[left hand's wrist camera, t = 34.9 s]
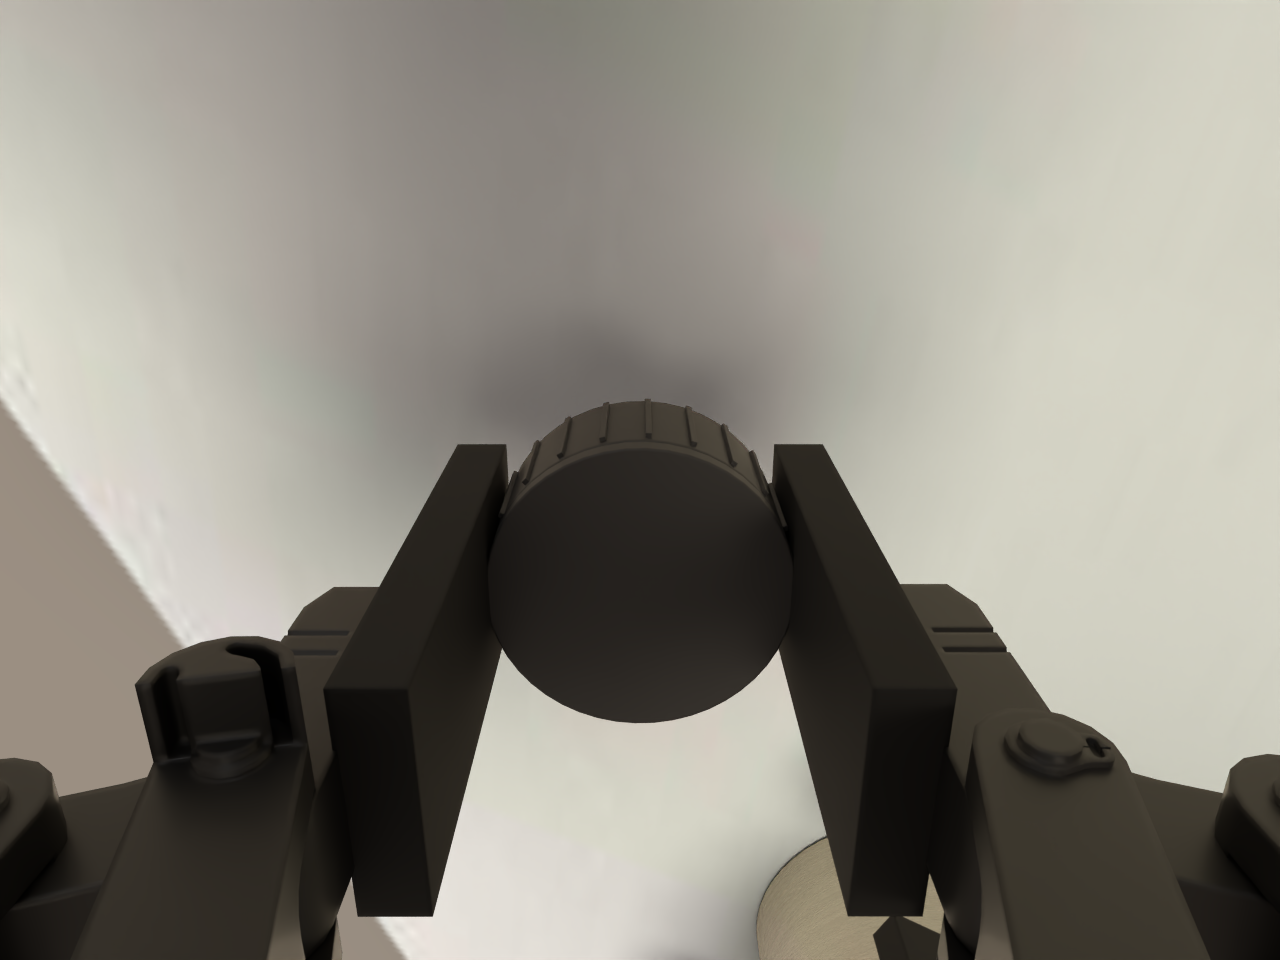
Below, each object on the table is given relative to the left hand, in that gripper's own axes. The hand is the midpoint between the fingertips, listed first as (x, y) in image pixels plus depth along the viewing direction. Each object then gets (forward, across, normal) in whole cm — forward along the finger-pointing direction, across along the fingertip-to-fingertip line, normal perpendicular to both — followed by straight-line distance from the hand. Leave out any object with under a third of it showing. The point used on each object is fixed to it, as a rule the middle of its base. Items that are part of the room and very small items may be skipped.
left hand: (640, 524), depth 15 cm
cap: (-2, 0, 0) cm, 2 cm away
